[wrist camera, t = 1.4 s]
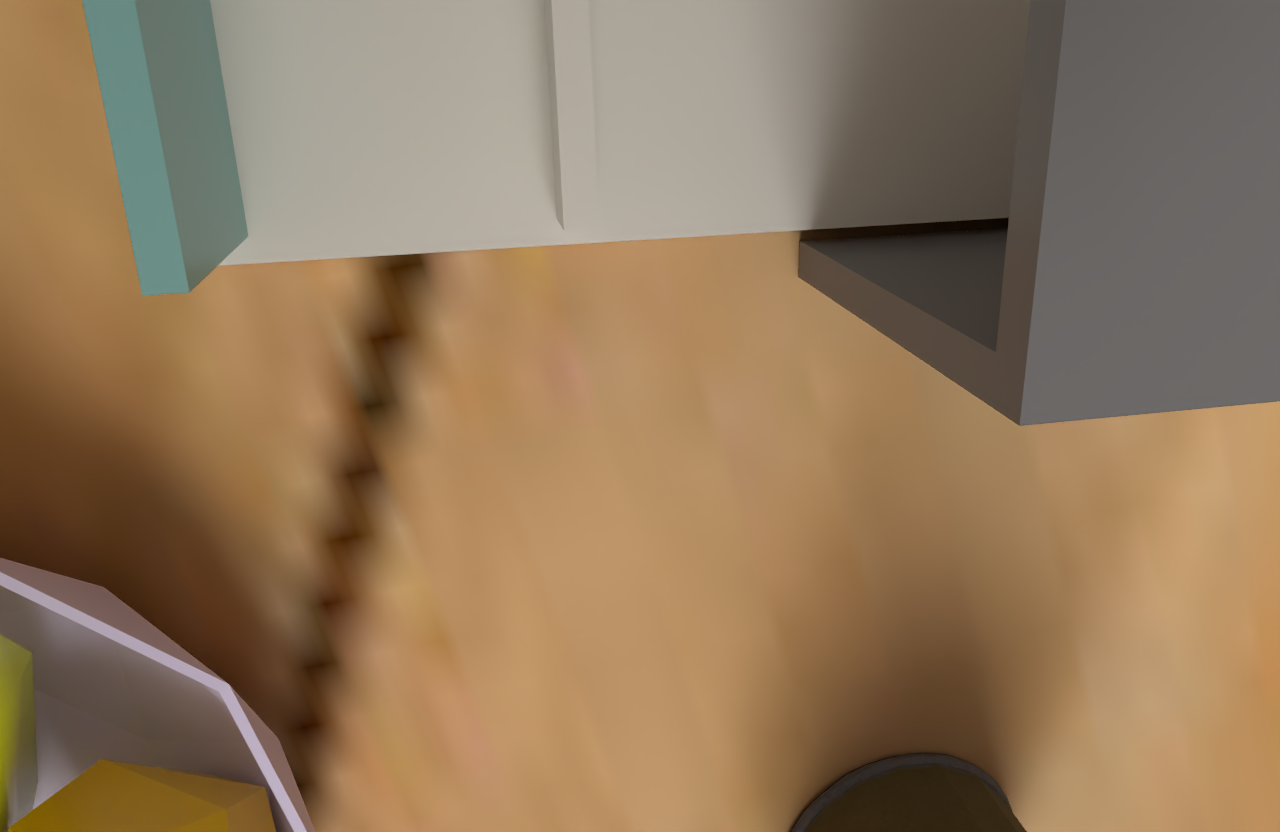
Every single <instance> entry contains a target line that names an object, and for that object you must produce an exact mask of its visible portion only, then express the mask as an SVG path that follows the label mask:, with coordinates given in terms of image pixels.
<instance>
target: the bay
mask: <svg viewBox="0 0 1280 832" xmlns="http://www.w3.org/2000/svg"><path fill="white" fill-rule="evenodd" d="M799 278H801V279H802V280H804V281H805V282H807V283H808V284H810V285H811V286H813V287H814V288H816V289H817V290H819V291H820V292H822V293H823V294H825V295H826V296H828V297H829V298H831V299H832V300H834V301H835V302H837V303H838V304H840V305H841V306H842V307H844V308H845V309H847V310H848V311H850V312H851V313H853V314H854V315H856V316H857V317H859V318H860V319H862V320H863V321H865V322H866V323H868V324H869V325H871V326H872V327H874V328H875V329H877V330H878V331H880V332H881V333H883V334H884V335H886V336H887V337H889V338H890V339H891V340H893V341H894V342H896V343H897V344H899V345H900V346H902V347H903V348H905V349H906V350H908V351H909V352H911V353H912V354H914V355H915V356H917V357H918V358H920V359H921V360H923V361H924V362H926V363H927V364H929V365H930V366H932V367H933V368H935V369H936V370H938V371H939V372H941V373H942V374H943V375H945V376H946V377H948V378H949V379H951V380H952V381H954V382H955V383H957V384H958V385H960V386H961V387H963V388H964V389H966V390H967V391H969V392H970V393H972V394H973V395H975V396H976V397H978V398H979V399H981V400H982V401H984V402H985V403H987V404H988V405H990V406H991V407H992V408H994V409H995V410H997V411H998V412H1000V413H1001V414H1003V415H1004V416H1006V417H1007V418H1009V419H1010V420H1012V421H1013V422H1015V423H1016V424H1018V425H1019V426H1022V425H1032V424H1043V423H1053V422H1064V421H1075V420H1085V419H1096V418H1107V417H1117V416H1128V415H1138V414H1149V413H1160V412H1170V411H1181V410H1192V409H1202V408H1213V407H1223V406H1234V405H1245V404H1255V403H1266V402H1277V401H1280V0H1030V8H1029V19H1028V29H1027V39H1026V49H1025V59H1024V70H1023V80H1022V90H1021V100H1020V110H1019V121H1018V131H1017V141H1016V151H1015V161H1014V172H1013V182H1012V192H1011V202H1010V212H1009V223H1008V228H1000V229H984V230H967V231H951V232H935V233H919V234H903V235H887V236H871V237H855V238H839V239H823V240H807V241H800V243H799Z"/></svg>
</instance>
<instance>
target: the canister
mask: <svg viewBox="0 0 1280 832" xmlns="http://www.w3.org/2000/svg"><path fill="white" fill-rule="evenodd" d="M791 832H1026V830H1025V829H1024V828H1023V826H1022V825H1021V823H1020V822H1019V821H1018V819H1017V818H1016V817H1015V815H1014V814H1013V812H1012V809H1011V807H1010V804H1009V801H1008V799H1007V797H1006V795H1005V794H1004V792H1003V791H1002V789H1001V788H1000V787H999V785H998V784H997V783H996V782H995V780H994V779H993V778H992V777H990V776H989V775H988V774H986V773H985V772H983V771H982V770H981V769H979V768H978V767H976V766H975V765H972V764H970V763H968V762H965V761H963V760H960V759H957V758H955V757H952V756H949V755H940V754H925V753H916V754H910V755H903V756H896V757H892V758H888V759H884V760H881V761H878V762H874V763H871V764H868V765H865V766H862V767H861V768H859V769H857V770H855V771H853V772H851V773H849V774H847V775H845V776H844V777H843V778H841V779H840V780H839V781H838V782H836V783H835V784H834V785H833V786H831V787H830V788H829V789H827V790H826V791H825V792H824V793H823V794H821V795H820V796H819V797H818V798H817V799H816V800H815V801H814V802H812V803H811V804H810V805H809V807H808V808H807V809H806V810H805V811H804V813H803V814H802V815H801V817H800V819H799V820H798V822H797V823H796V825H795V826H794V828H793V829H792V831H791Z"/></svg>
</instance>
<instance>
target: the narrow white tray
mask: <svg viewBox="0 0 1280 832" xmlns="http://www.w3.org/2000/svg"><path fill="white" fill-rule="evenodd" d="M82 1H83V6H84V11H85V16H86V21H87V26H88V31H89V36H90V40H91V45H92V50H93V55H94V60H95V65H96V70H97V75H98V80H99V85H100V90H101V94H102V99H103V104H104V109H105V114H106V119H107V124H108V129H109V134H110V139H111V144H112V148H113V153H114V158H115V163H116V168H117V173H118V178H119V183H120V188H121V193H122V198H123V202H124V207H125V212H126V217H127V222H128V227H129V232H130V237H131V242H132V247H133V252H134V256H135V261H136V266H137V271H138V276H139V281H140V286H141V291H142V295H158V294H173V293H189V292H190V291H191V290H192V289H194V288H195V287H196V286H197V285H198V284H199V283H200V282H201V281H202V280H203V279H204V278H205V277H206V276H207V275H208V274H209V273H210V272H211V271H213V270H214V269H215V268H216V267H217V266H221V265H237V264H254V263H270V262H287V261H303V260H320V259H336V258H353V257H369V256H386V255H402V254H419V253H435V252H452V251H468V250H485V249H501V248H517V247H534V246H550V245H567V244H583V243H600V242H616V241H633V240H649V239H666V238H682V237H699V236H715V235H732V234H748V233H765V232H781V231H797V230H814V229H830V228H847V227H863V226H880V225H896V224H913V223H929V222H946V221H962V220H979V219H995V218H1009V212H1010V202H1011V192H1012V182H1013V172H1014V161H1015V151H1016V141H1017V131H1018V121H1019V110H1020V100H1021V90H1022V80H1023V70H1024V59H1025V49H1026V39H1027V29H1028V19H1029V8H1030V0H82Z"/></svg>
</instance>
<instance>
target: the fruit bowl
mask: <svg viewBox="0 0 1280 832" xmlns="http://www.w3.org/2000/svg"><path fill="white" fill-rule="evenodd" d="M0 832H315V830H314V827H313V825H312V822H311V820H310V817H309V815H308V812H307V810H306V807H305V804H304V802H303V799H302V797H301V794H300V792H299V789H298V787H297V784H296V782H295V779H294V777H293V774H292V772H291V769H290V766H289V764H288V761H287V759H286V756H285V754H284V751H283V749H282V746H281V744H280V741H279V739H278V737H277V736H276V735H275V734H274V733H273V732H272V731H271V730H270V729H269V728H268V727H267V725H266V724H265V723H264V722H263V721H262V720H261V719H260V718H259V717H258V716H257V714H256V713H255V712H254V711H253V710H252V709H251V708H250V707H249V706H248V705H247V703H246V702H245V701H244V700H243V699H242V698H241V697H240V696H239V695H238V694H237V692H236V691H235V690H234V689H233V688H232V687H231V686H230V685H229V684H228V683H227V682H225V681H224V680H223V679H222V678H220V677H219V676H218V675H216V674H215V673H214V672H213V671H211V670H210V669H209V668H207V667H206V666H205V665H204V664H202V663H201V662H200V661H198V660H197V659H196V658H195V657H193V656H192V655H191V654H189V653H188V652H187V651H186V650H184V649H183V648H182V647H180V646H179V645H178V644H177V643H175V642H174V641H173V640H171V639H170V638H169V637H168V636H166V635H165V634H164V633H162V632H161V631H160V630H159V629H157V628H156V627H155V626H153V625H152V624H151V623H150V622H148V621H147V620H146V619H144V618H143V617H142V616H141V615H139V614H138V613H137V612H135V611H134V610H133V609H132V608H130V607H129V606H128V605H126V604H125V603H124V602H123V601H121V600H120V599H119V598H117V597H116V596H115V595H114V594H112V593H111V592H110V591H108V590H107V589H106V588H105V587H102V586H99V585H95V584H92V583H88V582H85V581H81V580H78V579H74V578H70V577H67V576H63V575H60V574H56V573H53V572H49V571H46V570H42V569H39V568H35V567H31V566H28V565H24V564H21V563H17V562H14V561H10V560H7V559H3V558H0Z"/></svg>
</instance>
